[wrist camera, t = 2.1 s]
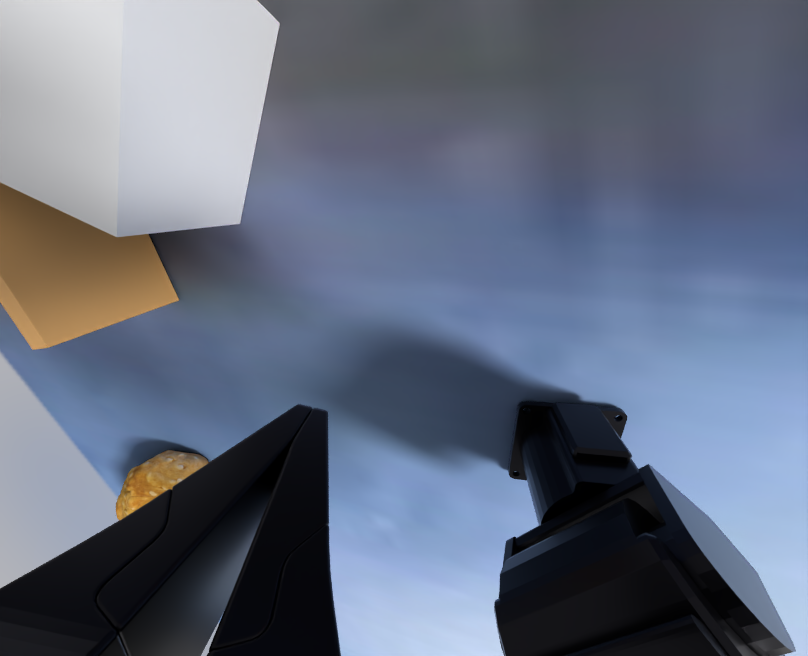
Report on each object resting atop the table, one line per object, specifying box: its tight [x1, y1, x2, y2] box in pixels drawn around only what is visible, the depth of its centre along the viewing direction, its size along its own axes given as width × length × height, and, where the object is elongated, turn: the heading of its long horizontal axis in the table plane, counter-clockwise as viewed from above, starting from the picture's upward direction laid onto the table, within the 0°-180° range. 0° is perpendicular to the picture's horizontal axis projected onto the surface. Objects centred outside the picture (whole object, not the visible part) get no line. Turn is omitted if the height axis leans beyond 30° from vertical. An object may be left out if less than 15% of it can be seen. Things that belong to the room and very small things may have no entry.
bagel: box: [116, 450, 209, 520], centre depth 27 cm, size 10×11×5 cm
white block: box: [0, 0, 280, 237], centre depth 13 cm, size 9×10×8 cm
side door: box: [0, 182, 179, 350], centre depth 16 cm, size 8×1×8 cm, turn 11°
